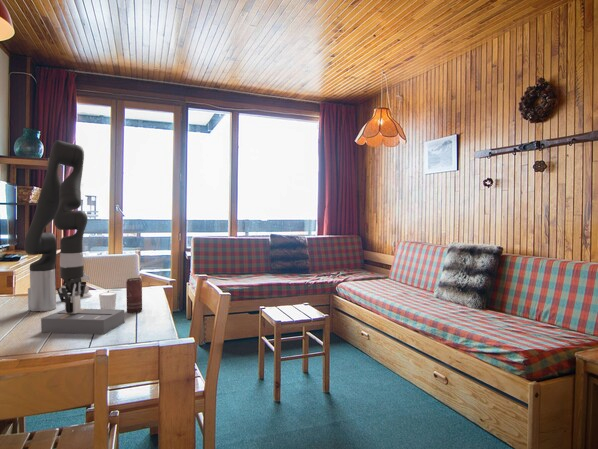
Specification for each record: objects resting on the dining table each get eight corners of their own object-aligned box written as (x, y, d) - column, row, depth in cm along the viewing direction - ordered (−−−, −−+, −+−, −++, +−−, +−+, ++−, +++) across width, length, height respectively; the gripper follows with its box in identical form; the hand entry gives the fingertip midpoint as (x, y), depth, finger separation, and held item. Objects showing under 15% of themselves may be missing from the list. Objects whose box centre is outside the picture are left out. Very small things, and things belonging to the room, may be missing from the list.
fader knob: (65, 318, 144) (64, 296, 143) (70, 316, 147) (70, 295, 146) (75, 318, 143) (75, 297, 143) (80, 316, 146) (80, 295, 146)
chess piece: (92, 297, 192) (91, 267, 192) (68, 300, 187) (68, 269, 187) (91, 294, 201) (90, 265, 200) (68, 296, 196) (68, 266, 195)
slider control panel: (41, 332, 139) (41, 318, 139) (67, 321, 153) (67, 308, 152) (103, 334, 137) (103, 319, 137) (124, 322, 151) (124, 309, 151)
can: (137, 313, 164) (136, 280, 163) (123, 312, 165) (123, 279, 164) (145, 310, 170) (145, 278, 169) (132, 309, 171) (132, 277, 170)
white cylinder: (120, 308, 172) (120, 292, 172) (108, 312, 166) (107, 295, 166) (108, 307, 175) (107, 291, 174) (95, 310, 168) (95, 294, 168)
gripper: (74, 262, 152) (75, 306, 152) (48, 267, 138) (49, 316, 138) (93, 262, 151) (93, 306, 152) (69, 267, 137) (70, 316, 138)
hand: (72, 311), depth 145 cm, fingers closed on fader knob, 3 cm apart
